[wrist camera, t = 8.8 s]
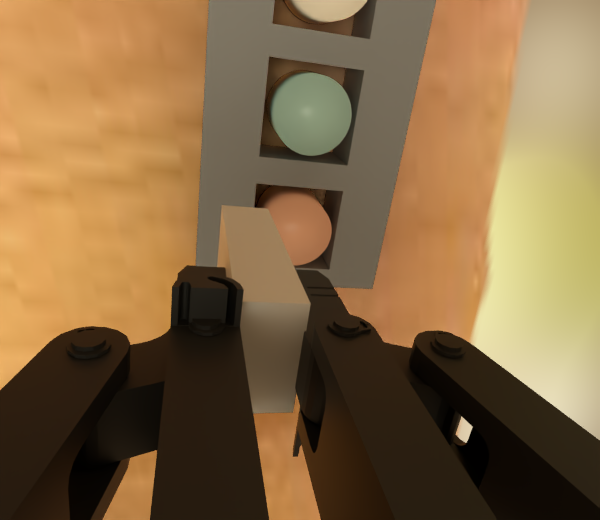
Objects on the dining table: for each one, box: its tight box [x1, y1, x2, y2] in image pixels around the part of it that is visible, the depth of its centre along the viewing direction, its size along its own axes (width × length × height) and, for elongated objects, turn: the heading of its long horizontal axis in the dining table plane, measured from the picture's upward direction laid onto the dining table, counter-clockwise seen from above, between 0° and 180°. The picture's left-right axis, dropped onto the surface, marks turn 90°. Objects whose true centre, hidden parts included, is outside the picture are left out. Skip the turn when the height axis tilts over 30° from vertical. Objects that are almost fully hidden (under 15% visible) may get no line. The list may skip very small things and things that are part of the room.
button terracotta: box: [256, 185, 332, 265], centre depth 30 cm, size 4×4×4 cm
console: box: [196, 0, 436, 289], centre depth 28 cm, size 12×22×4 cm, turn 172°
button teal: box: [267, 70, 352, 156], centre depth 28 cm, size 4×4×4 cm
